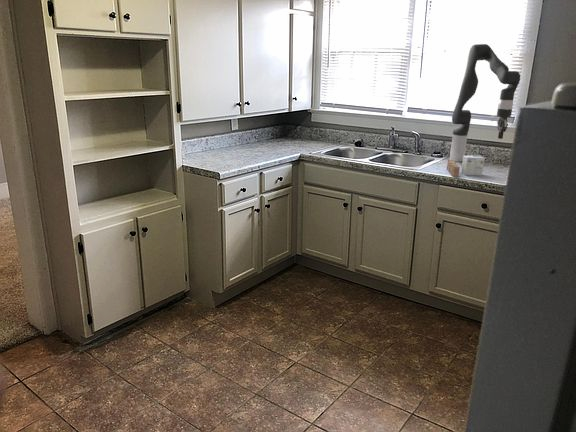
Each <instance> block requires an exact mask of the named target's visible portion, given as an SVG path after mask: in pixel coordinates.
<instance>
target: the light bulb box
mask: <svg viewBox="0 0 576 432" xmlns="http://www.w3.org/2000/svg"><path fill="white" fill-rule="evenodd" d="M484 165H485V156H482V155H465V156H463V161H462V165H461V171H460V173H461V174H462V175H464V176H483V173H484Z"/></svg>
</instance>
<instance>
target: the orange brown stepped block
mask: <svg viewBox="0 0 576 432" xmlns="http://www.w3.org/2000/svg"><path fill="white" fill-rule="evenodd" d="M460 169H461V167H460V166H459V164H457V162H456V161H453V160H449V159H447V165H446V171H448V173H449V175H450V176H451V177H452V178H459V176H460Z"/></svg>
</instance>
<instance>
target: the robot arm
mask: <svg viewBox="0 0 576 432" xmlns="http://www.w3.org/2000/svg"><path fill="white" fill-rule="evenodd" d="M478 61H486V62H488V63H489V69H490V70H491V72H493V74H494V75H495V76H497V79H498V81H499V82H500V83H501V84H503V85H508V86H507V87H506V88H505V87H504V88H503V89H501V90H500V95H499V101H498V106H497V111H496V116H497V117H499V119H498V120H497V130H498V136H497V139H498V140H502V139H503V138H504V133H505V132H506V131H507V129H508V127H509V123H508V118H511V117H512V112H513V107H514V97H515V92H516V90H517V89H518V86H519V84H520V81H521V74H520V72H519V71H518V70H513V71H511V70H510V69H509V66H508V65H506V63H505V62H503V61H502V60H500V58H499V57H498V56H497V54H496V53H495V52H494V50H493V48H491V47H490V45H489V44H485V43H481V44H480V43H479V44H473V45H472V46H470V49H469V52H468V56H467V62H466V67H465V72H464V77H463V80H462V83H461V87H460V91H459V94H458V99H457V100H456V101H457V102H456V104H455V106H454V110H453V113H452V116H451V123H453V124H454V125H461V126H459V127H458V128H455V129H453V130H452V137H451V143H450V144H451V145H450V153H449V159H448V160H453V161H454V162H455V163H457V162H458V163H461V162H462V163H463V156H466V155H465V153H466V149H467V141H468V133H469V131H470V125H471V120H472V113H471V110H469V109H464V107H465V105H466V104H467V103H468V101H469V100H470V99H471V98H472V97H473V96H475V94H476V92H477V88H478V84H479V79H478V75H477V72H476V65H477V62H478Z"/></svg>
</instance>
